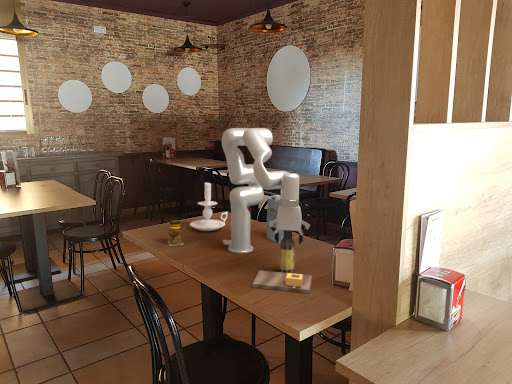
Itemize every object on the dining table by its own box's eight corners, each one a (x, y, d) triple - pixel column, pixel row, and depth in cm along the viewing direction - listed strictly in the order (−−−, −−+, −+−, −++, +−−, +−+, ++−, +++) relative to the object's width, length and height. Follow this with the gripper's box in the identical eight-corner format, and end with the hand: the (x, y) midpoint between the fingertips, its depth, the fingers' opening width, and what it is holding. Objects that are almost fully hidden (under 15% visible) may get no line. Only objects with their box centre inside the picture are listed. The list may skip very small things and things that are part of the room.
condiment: (169, 246, 197) (169, 223, 195) (166, 241, 205) (166, 219, 203) (184, 244, 200) (184, 222, 198) (180, 240, 208) (180, 218, 205)
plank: (252, 287, 151) (252, 283, 151) (259, 273, 165) (259, 270, 165) (309, 293, 147) (309, 289, 147) (311, 279, 161) (311, 275, 160)
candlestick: (237, 229, 231) (238, 182, 225) (201, 236, 215) (201, 186, 210) (218, 221, 246) (218, 177, 241) (183, 227, 231) (182, 181, 225)
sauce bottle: (295, 274, 165) (297, 229, 162) (281, 275, 164) (283, 229, 160) (291, 268, 171) (293, 224, 168) (277, 269, 170) (279, 225, 166)
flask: (264, 236, 217) (265, 192, 213) (271, 235, 220) (272, 192, 215) (281, 245, 203) (283, 198, 198) (288, 244, 205) (290, 197, 200)
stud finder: (285, 285, 150) (285, 277, 149) (287, 280, 154) (287, 272, 154) (301, 286, 148) (301, 279, 148) (302, 281, 153) (302, 274, 153)
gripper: (267, 203, 160) (267, 243, 163) (310, 205, 157) (308, 246, 159) (270, 200, 167) (269, 239, 170) (311, 202, 164) (309, 241, 167)
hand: (288, 242), depth 165 cm, fingers open, 9 cm apart
